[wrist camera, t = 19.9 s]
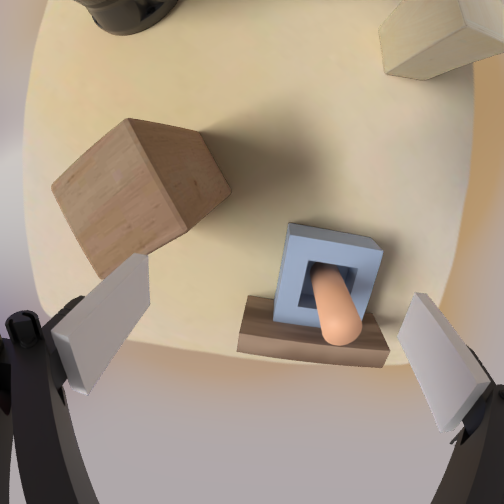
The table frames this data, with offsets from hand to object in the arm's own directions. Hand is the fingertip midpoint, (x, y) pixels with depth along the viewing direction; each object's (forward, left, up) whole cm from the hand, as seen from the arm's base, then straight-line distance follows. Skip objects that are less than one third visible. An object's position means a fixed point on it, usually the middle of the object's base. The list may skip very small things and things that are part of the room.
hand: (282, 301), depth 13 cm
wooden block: (-1, -14, -28) cm, 31 cm away
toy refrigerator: (-25, +14, -28) cm, 40 cm away
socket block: (+9, +7, -28) cm, 30 cm away
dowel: (+8, +7, -25) cm, 28 cm away
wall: (+16, +7, -28) cm, 33 cm away
